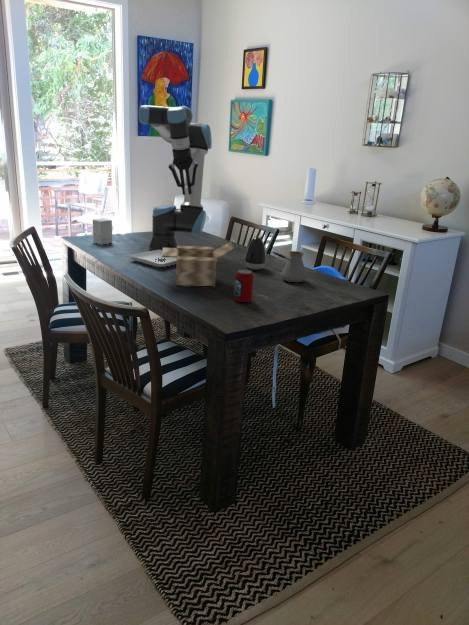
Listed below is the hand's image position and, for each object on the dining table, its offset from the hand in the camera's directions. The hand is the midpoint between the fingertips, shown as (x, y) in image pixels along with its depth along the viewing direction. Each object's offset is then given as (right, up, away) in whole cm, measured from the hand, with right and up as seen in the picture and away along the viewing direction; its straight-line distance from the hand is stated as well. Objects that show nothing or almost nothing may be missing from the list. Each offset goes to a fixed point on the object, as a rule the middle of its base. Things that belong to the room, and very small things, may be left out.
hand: (188, 201), depth 222 cm
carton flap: (+16, -23, -12) cm, 30 cm away
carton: (+1, -36, -9) cm, 37 cm away
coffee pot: (+43, -36, 0) cm, 56 cm away
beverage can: (+24, -45, -28) cm, 58 cm away
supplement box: (-50, -13, +46) cm, 69 cm away
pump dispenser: (+30, -28, +19) cm, 46 cm away
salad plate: (-15, -26, +18) cm, 35 cm away
